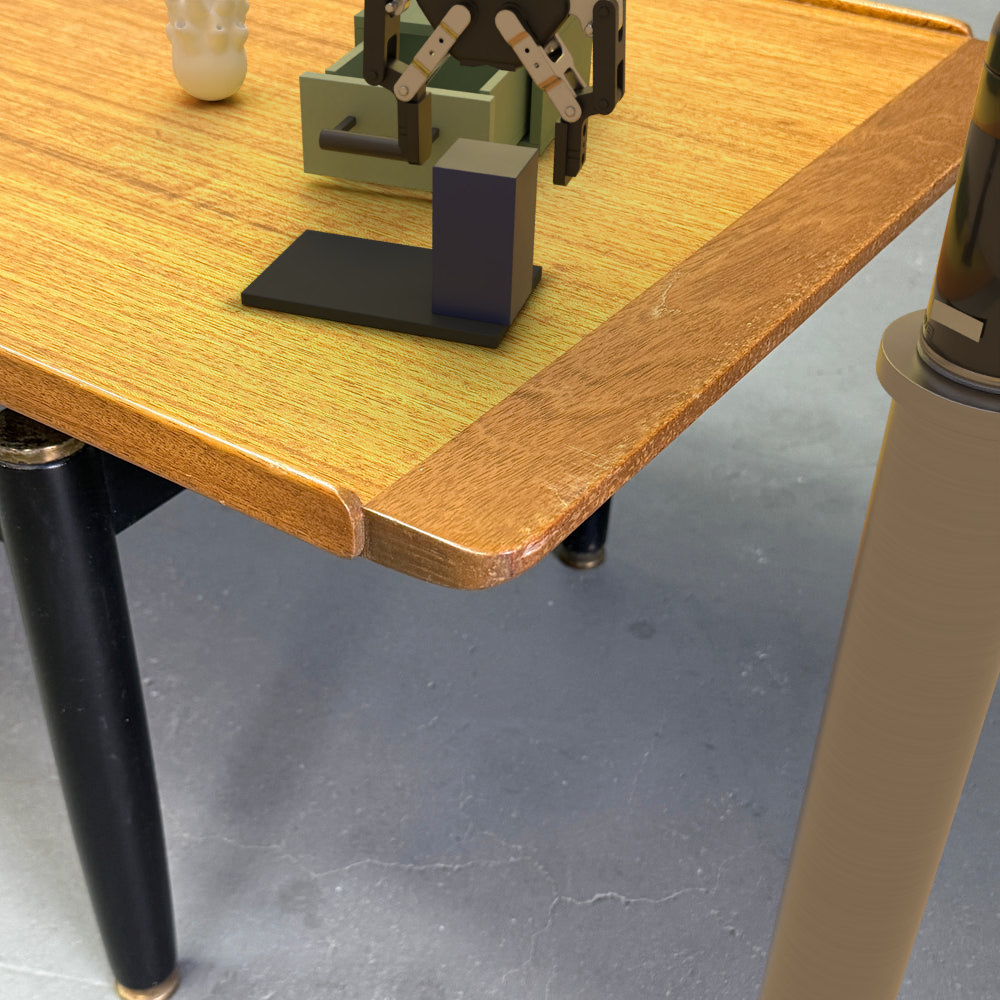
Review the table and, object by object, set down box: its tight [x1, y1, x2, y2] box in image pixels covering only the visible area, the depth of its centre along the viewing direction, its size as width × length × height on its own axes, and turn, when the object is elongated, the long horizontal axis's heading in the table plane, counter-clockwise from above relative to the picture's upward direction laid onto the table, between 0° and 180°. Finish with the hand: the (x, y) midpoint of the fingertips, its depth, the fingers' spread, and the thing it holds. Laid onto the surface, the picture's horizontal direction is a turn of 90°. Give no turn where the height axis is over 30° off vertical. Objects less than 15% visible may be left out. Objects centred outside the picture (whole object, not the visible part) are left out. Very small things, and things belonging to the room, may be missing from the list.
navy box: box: [431, 138, 539, 327], centre depth 80 cm, size 5×5×9 cm
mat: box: [240, 228, 543, 349], centre depth 85 cm, size 16×10×1 cm, turn 73°
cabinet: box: [353, 0, 593, 157], centre depth 110 cm, size 16×15×9 cm
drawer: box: [298, 33, 532, 193], centre depth 99 cm, size 19×14×7 cm
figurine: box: [164, 0, 250, 102], centre depth 110 cm, size 7×7×12 cm
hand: (491, 170), depth 79 cm, fingers open, 8 cm apart
